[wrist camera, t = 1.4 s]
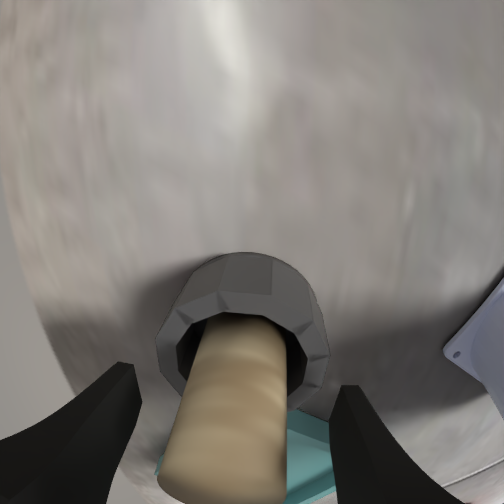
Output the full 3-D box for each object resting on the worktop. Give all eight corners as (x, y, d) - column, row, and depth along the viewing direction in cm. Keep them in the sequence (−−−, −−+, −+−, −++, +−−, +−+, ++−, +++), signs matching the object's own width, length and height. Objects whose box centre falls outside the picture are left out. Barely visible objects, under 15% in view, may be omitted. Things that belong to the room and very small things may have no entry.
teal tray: (382, 442, 19) (386, 461, 17) (281, 499, 23) (281, 515, 21) (238, 382, 17) (235, 406, 15) (159, 457, 21) (154, 474, 19)
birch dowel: (300, 315, 14) (314, 490, 6) (257, 362, 16) (241, 521, 8) (234, 275, 14) (189, 448, 6) (196, 328, 15) (140, 486, 7)
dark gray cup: (347, 302, 14) (362, 349, 11) (265, 385, 17) (262, 435, 14) (224, 222, 13) (207, 255, 10) (158, 326, 16) (134, 372, 13)
